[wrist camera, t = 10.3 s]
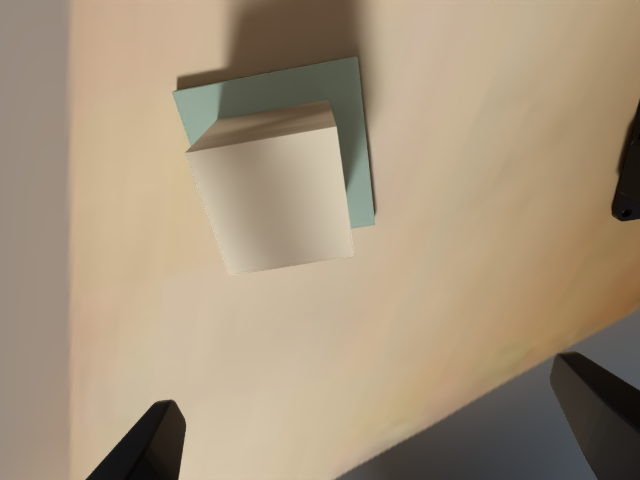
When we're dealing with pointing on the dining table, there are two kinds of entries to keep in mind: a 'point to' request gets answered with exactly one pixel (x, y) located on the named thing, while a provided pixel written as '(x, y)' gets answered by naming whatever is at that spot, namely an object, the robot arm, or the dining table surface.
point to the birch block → (274, 188)
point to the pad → (288, 90)
